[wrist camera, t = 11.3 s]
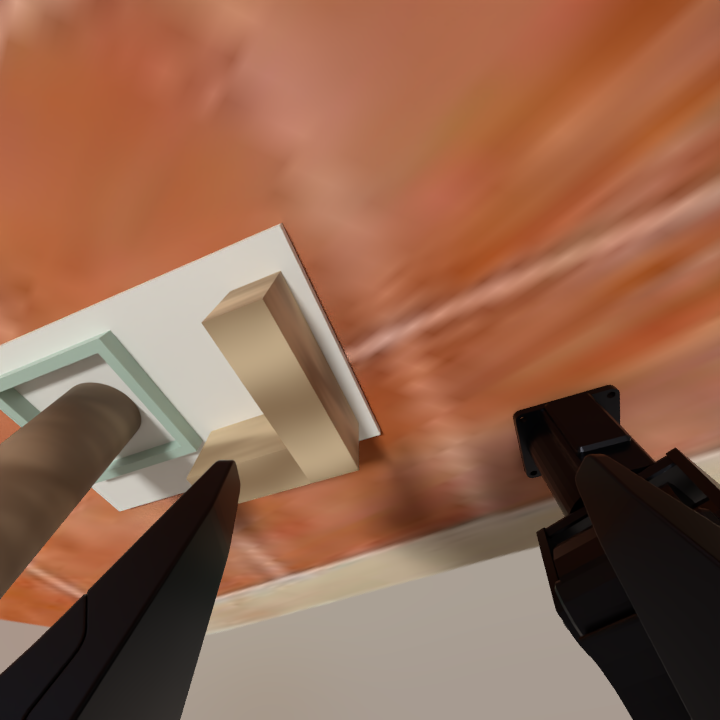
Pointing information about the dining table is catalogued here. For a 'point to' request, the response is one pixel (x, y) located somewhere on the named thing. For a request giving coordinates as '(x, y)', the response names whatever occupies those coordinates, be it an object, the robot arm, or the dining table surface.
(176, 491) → the board
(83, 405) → the walnut column
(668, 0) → the dining table surface
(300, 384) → the tan l-shaped block
